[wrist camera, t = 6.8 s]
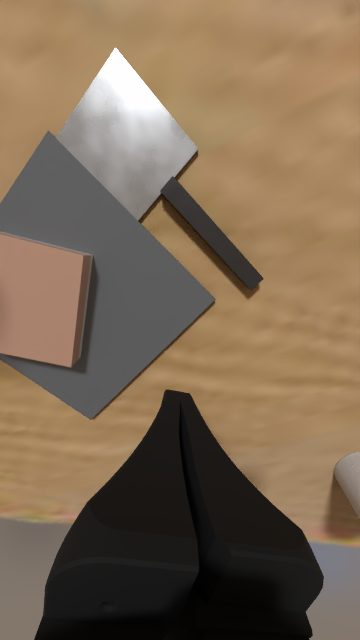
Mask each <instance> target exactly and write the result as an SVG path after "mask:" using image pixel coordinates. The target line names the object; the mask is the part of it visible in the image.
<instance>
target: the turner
mask: <svg viewBox="0 0 360 640" xmlns="http://www.w3.org/2000/svg"><path fill="white" fill-rule="evenodd" d="M56 139H57V140H58V141H59V142H60V143H61V144H62V145H63V146H64V147H65V148H66V149H67V150H68V151H69V152H70V153H71V154H72V155H73V156H74V157H75V158H76V159H77V160H78V161H79V162H80V163H81V164H82V165H83V166H84V167H85V168H86V169H87V170H88V171H89V172H90V173H91V174H92V175H93V176H94V177H95V178H96V179H97V180H98V181H99V182H100V183H101V184H102V185H103V186H104V187H105V188H106V189H107V190H108V191H109V192H110V193H111V194H112V195H113V196H114V197H115V198H116V199H117V200H118V201H119V202H120V203H121V204H122V205H123V206H124V207H125V208H126V209H127V210H128V211H129V212H130V213H131V214H132V215H133V216H134V217H135V218H136V219H137V220H138V221H139V220H140V219H141V218H142V217H143V215H144V214H145V213H146V212H147V211H148V209H149V208H150V207H151V206H152V205H153V203H154V202H155V201H156V200H157V199H158V198H159V196H160V195H161V194H162V195H163V197H164V198H165V199H166V200H167V201H168V202H169V203H170V204H171V205H172V206H173V207H174V208H175V210H176V211H177V212H178V213H179V214H180V215H181V216H182V217H183V218H184V219H185V220H186V221H187V223H188V224H189V225H190V226H191V227H192V228H193V229H194V230H195V231H196V232H197V233H198V234H199V236H200V237H201V238H202V239H203V240H204V241H205V242H206V243H207V244H208V245H209V246H210V248H211V249H212V250H213V251H214V252H215V253H216V254H217V255H218V256H219V257H220V258H221V259H222V261H223V262H224V263H225V264H226V265H227V266H228V267H229V268H230V269H231V270H232V271H233V272H234V274H235V275H236V276H237V277H238V278H239V279H240V280H241V281H242V282H243V283H244V284H245V286H246V287H247V288H248V289H250V290H252V289H253V288H254V287H255V286H256V285H257V284H258V283H259V282H261V281H262V280H263V279H264V278H263V277H262V276H261V275H260V274H259V273H258V272H257V271H256V269H255V268H254V267H253V266H252V265H251V264H250V263H249V261H248V260H247V259H246V258H245V257H244V256H243V255H242V254H241V252H240V251H239V250H238V249H237V248H236V247H235V246H234V245H233V243H232V242H231V241H230V240H229V239H228V238H227V237H226V235H225V234H224V233H223V232H222V231H221V230H220V229H219V228H218V226H217V225H216V224H215V223H214V222H213V221H212V220H211V218H210V217H209V216H208V215H207V214H206V213H205V212H204V211H203V209H202V208H201V207H200V206H199V205H198V204H197V203H196V201H195V200H194V199H193V198H192V197H191V196H190V195H189V194H188V192H187V191H186V190H185V189H184V188H183V187H182V186H181V184H180V183H179V182H178V181H177V180H176V179H175V177H176V176H177V175H178V174H179V173H180V171H181V170H182V169H183V168H184V167H185V165H186V164H187V163H188V162H189V161H190V159H191V158H192V157H193V156H194V155H195V153H196V152H197V151H198V148H197V147H196V146H195V144H194V143H193V142H192V141H191V139H190V138H189V137H188V136H187V135H186V133H185V132H184V131H183V130H182V128H181V127H180V126H179V125H178V124H177V122H176V121H175V120H174V119H173V117H172V116H171V115H170V114H169V113H168V111H167V110H166V109H165V108H164V106H163V105H162V104H161V103H160V102H159V100H158V99H157V98H156V97H155V95H154V94H153V93H152V92H151V91H150V89H149V88H148V87H147V86H146V84H145V83H144V82H143V81H142V80H141V78H140V77H139V76H138V75H137V73H136V72H135V71H134V70H133V69H132V67H131V66H130V65H129V64H128V62H127V61H126V60H125V59H124V58H123V56H122V55H121V54H120V53H119V51H118V50H117V49H116V48H115V49H114V51H113V52H112V54H111V55H110V57H109V58H108V60H107V61H106V63H105V64H104V66H103V67H102V69H101V70H100V72H99V73H98V75H97V76H96V78H95V79H94V81H93V82H92V84H91V85H90V87H89V88H88V90H87V91H86V93H85V94H84V96H83V97H82V99H81V100H80V102H79V103H78V105H77V106H76V108H75V109H74V111H73V112H72V114H71V115H70V117H69V118H68V120H67V121H66V123H65V124H64V126H63V127H62V129H61V130H60V132H59V133H58V135H57V136H56Z"/></svg>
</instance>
